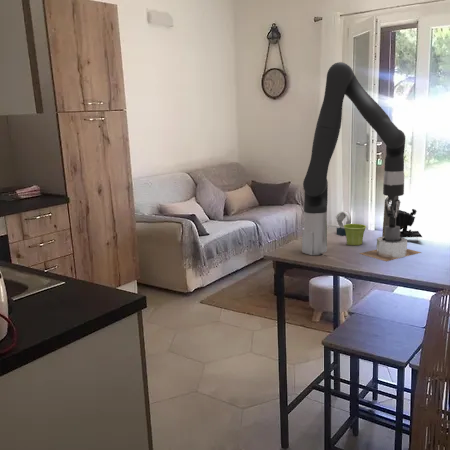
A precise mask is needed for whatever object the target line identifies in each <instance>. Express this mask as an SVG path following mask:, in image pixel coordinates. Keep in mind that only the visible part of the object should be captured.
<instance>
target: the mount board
mask: <svg viewBox="0 0 450 450" xmlns="http://www.w3.org/2000/svg"><path fill="white" fill-rule="evenodd" d="M358 253H359V255H362V256H366V257H370V258H373V259H375V260H380V261H383V262H389V261H394V260H398V259H399V258H386V257H382V256H379V255H378V254H377V248H376V249H372V250H368V251H367V250H366V251H364V252H358ZM422 253H423V252H421V251H418V250H414V249H410V248H407V255H406V256H405V257H410V256H414V255H418V254H422ZM405 257H404V258H405ZM401 258H403V257H401ZM401 258H400V259H401Z"/></svg>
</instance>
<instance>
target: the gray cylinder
mask: <svg viewBox="0 0 450 450" xmlns="http://www.w3.org/2000/svg"><path fill="white" fill-rule="evenodd" d="M400 231H401V230H400V226H395V227H389V225H388V226H385V240H384V241H390V242H397V241H400Z"/></svg>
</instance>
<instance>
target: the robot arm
mask: <svg viewBox="0 0 450 450" xmlns="http://www.w3.org/2000/svg"><path fill="white" fill-rule="evenodd" d="M345 96H346V97H347V98H348V99H349V100H350V101H351V102H352V104H353V105H354V106H355V108H356V109H357V111H358V112H359V114H360V115H361V116H362V118H363V119H364V120H365V121H366V123H368V124H369V126H370V127H371V128H372V129H373V130H374V131H375V132H376V133H377V135H378V137H379V138H380V139H381V141H382V142H383V143H384V145H385V157H384V172H383V183H382V184H383V188H382V195H384V196H387V197H388V200H387V206H386V207H385V208H386V212H387V217H389V227H395V226H396V217H397V215H398V212H399V210H400V207H401V206H400V205H401V200H400V199H399V197H400V196H401V197H402V196H404V195H405V148H406V135H405V133H404V131H402V130H401V129H399V128H398V127H397V125H395V124H394V122H392V120H391V118H390V117H389V115H388V114H387V112H386V111H385V110H384V109H383V108H382V106H381V105H379V104H378V103H377V102H376V100H375V99H374V98H373V97H372V96H371V95H370V94H368V92H367V91H366V90H365V88H364V87H363V86H362V85H361V83H360V82H359V80H358V79H357V77H356V75H355V73H354V70H353V68H352V67H351V66H350V65H348V63H345V62H343V61H340V62H339V61H338V62H335V63H334V64H332V65H330V67H329V69H328V71H327V74H326V82H325V90H324V95H323V101H322V104H321V106H320V111H319V114H318V118H317V122H316V125H315V129H314V130H315V131H314V134H313V135H314V136H313V140H312V148H311V157H310V161H309V164H308V168H307V171H306V175H305V176H304V179H303V183H302V186H303V190H304V202H303V203H304V204H303V229H302V230H301V234H302V235H301V252H302V254H306V255H310V256H321V255H323V254H324V253H326V252H327V251H328V248H327V247H328V200H329V199H328V195H329V193H328V191H329V189H328V187H329V186H328V185H329V184H328V183H329V182H328V172H329V166H330V162H331V159H332V157H333V154H334V152H335V149H336V146H337V143H338V140H339V137H340V133H341V132H340V131H341V126H342V120H343V119H342V118H343V103H344V99H345Z"/></svg>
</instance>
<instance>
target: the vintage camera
mask: <svg viewBox="0 0 450 450" xmlns="http://www.w3.org/2000/svg"><path fill="white" fill-rule="evenodd" d="M387 200H388V196H387V197H385V199H384V209H383V222H382V235H381V237H383V236H385V226H388V225H389V217H387V212H386V208H385V207H386V206H387ZM417 212H418V211H417V210H416V209H414V208H412V209H411V212H410V213H409V212H407V211H404V210H402V209H399V212H398V215H397V217H396V226H400V237H403V238H423V235H421V233H420V232H419V230H412V229H409V230H408V227H412V226H413V224H414V222H415V219H416V216H415V215H416V214H417ZM416 242H417V243H418V240H416Z"/></svg>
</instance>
